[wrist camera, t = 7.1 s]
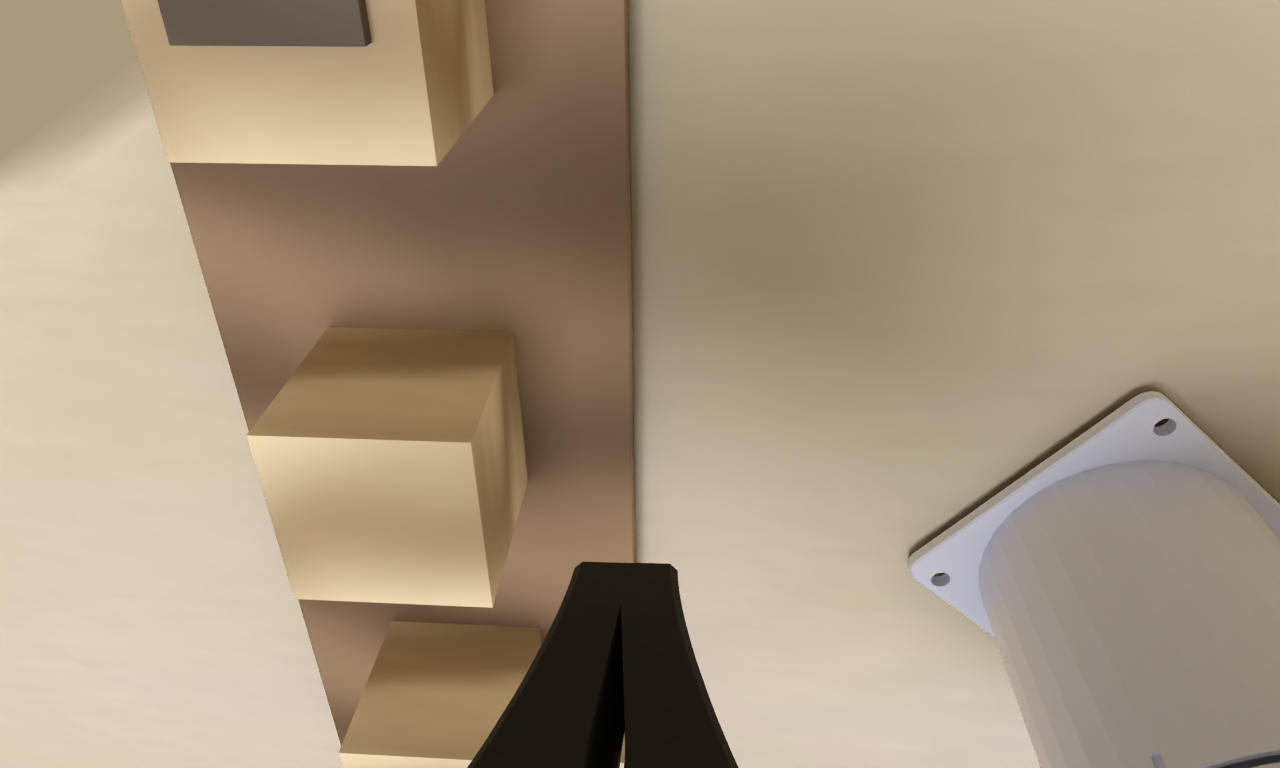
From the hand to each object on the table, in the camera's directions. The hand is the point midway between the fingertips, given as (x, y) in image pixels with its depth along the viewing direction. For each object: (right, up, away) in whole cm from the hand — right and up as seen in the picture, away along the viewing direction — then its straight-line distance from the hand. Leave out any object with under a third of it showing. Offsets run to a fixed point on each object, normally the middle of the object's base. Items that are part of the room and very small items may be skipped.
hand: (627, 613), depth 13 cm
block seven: (-5, -6, +15) cm, 17 cm away
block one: (-5, +11, +5) cm, 13 cm away
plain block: (-5, +3, +10) cm, 11 cm away
